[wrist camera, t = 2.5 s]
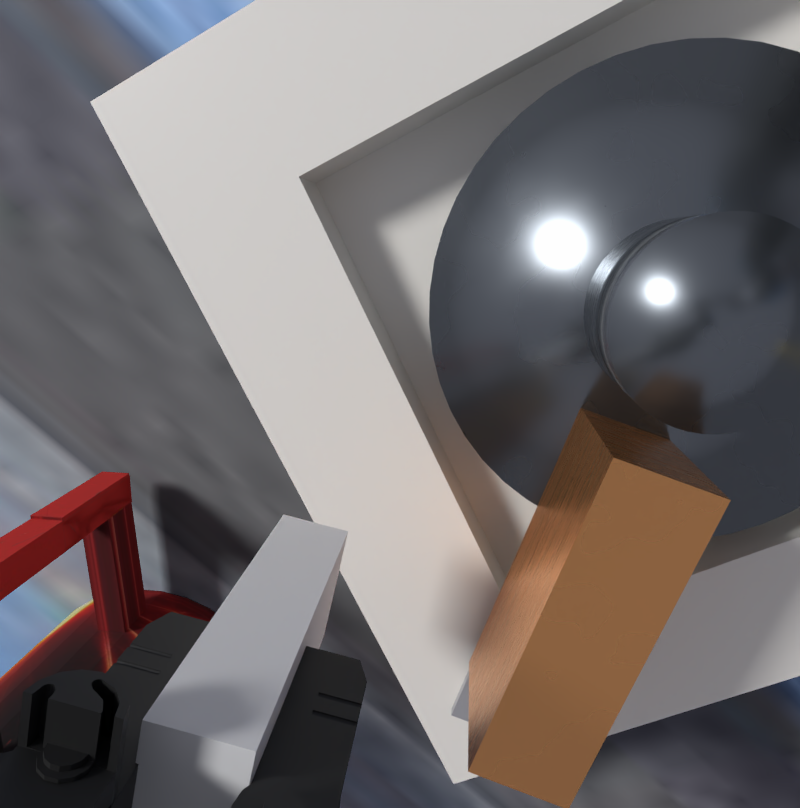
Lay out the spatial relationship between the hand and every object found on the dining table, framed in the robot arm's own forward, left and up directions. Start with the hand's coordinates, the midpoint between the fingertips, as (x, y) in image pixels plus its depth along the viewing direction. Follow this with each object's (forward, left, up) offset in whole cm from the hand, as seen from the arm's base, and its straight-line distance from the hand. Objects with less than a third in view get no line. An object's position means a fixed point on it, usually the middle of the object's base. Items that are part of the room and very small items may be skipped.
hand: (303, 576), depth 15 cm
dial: (-8, 0, -5) cm, 10 cm away
